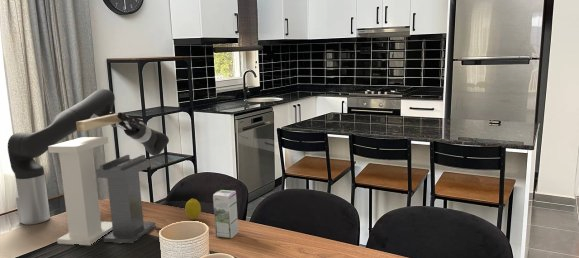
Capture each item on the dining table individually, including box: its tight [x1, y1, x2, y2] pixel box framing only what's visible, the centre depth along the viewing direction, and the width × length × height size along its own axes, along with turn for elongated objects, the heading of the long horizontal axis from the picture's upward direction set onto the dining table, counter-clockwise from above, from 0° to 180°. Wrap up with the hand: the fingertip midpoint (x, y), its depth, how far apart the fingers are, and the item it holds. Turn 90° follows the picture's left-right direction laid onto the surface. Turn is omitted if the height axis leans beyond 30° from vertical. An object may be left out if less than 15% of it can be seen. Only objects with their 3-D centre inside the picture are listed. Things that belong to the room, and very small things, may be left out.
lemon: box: [184, 198, 202, 221], centre depth 156 cm, size 6×6×8 cm
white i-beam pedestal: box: [47, 136, 113, 246], centre depth 144 cm, size 12×16×32 cm
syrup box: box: [212, 189, 239, 239], centre depth 141 cm, size 6×6×14 cm
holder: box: [95, 154, 157, 243], centre depth 143 cm, size 10×15×26 cm, turn 169°
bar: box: [76, 112, 127, 132], centre depth 153 cm, size 3×24×3 cm, turn 168°
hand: (114, 114), depth 160 cm, fingers closed on bar, 3 cm apart
